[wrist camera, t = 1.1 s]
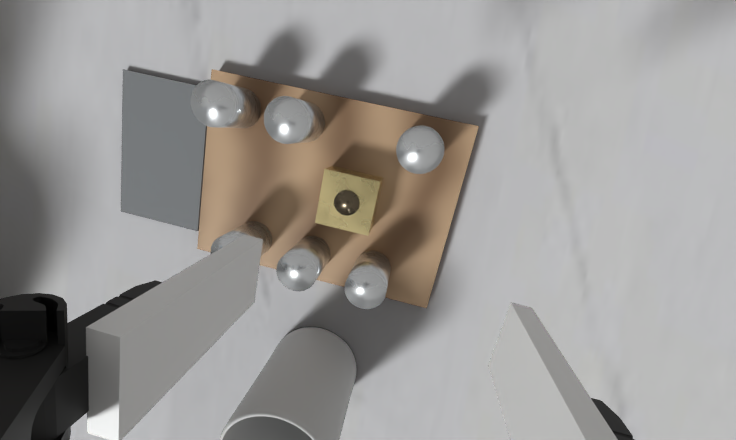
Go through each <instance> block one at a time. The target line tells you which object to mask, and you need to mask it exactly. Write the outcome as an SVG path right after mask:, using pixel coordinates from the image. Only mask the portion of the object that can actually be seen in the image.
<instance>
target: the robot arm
mask: <svg viewBox="0 0 736 440" xmlns="http://www.w3.org/2000/svg"><path fill="white" fill-rule="evenodd" d="M262 244H263V239H260V238H256V237H252V236H248V235H243V236H241V237H239V238H238V239H236V240H234V241H233V242H231V243H229V244H227V245H226V246H224V247H222V248H221V249H219V250H217V251H215V252H214V253H212V254H210V255H209V256H207V257H205V258H203V259H202V260H200V261H198V262H197V263H195V264H193V265H191V266H190V267H188V268H186V269H185V270H183V271H181V272H180V273H178V274H176V275H174V276H173V277H171V278H169V279H168V280H166V281H164V282H159V281H152V282H149V283H145V284H142V285H138V286H135V287H133V288H131V289H130V290H128V291H126V292H124V293H122V294H120V296H119V297H115V298H113V299H111V300H109V301H108V302H106V304H102V305H100V306H98V307H96V308H95V309H93V310H91V311H89V312H87V313H85V314H84V315H82V316H80V317H78V318H76V319H74V320H72V321H71V322H69V323H67V304H66V302H65V301H64V299H63V298H61V297H58V296H55V295H52V294H41V293H35V294H21V295H16V296H11V297H6V298H3V299H0V440H69V439H70V434H71V428H70V426H71V425H72V424H74V423H75V422H76V421H77V420H78V419H80V418H81V417H82V416H83V415H84V414H85V413H87V433H89V434H92V435H95V436H99V437H102V438H105V439H108V440H122V439H123V438H124V437H125V436H126V434H127V433H128V432H129V431H130V430H131V429H132V428H133V427H134V426H135V425H136V424H137V423H138V422H139V421H140V420H141V419H142V418H143V417H144V416H145V415H146V414H147V413H148V412H149V411H150V410H151V409H152V408H153V407H154V406H155V405H156V403H157V402H158V401H159V400H160V399H161V398H162V397H163V396H164V395H165V394H166V393H167V392H168V391H169V390H170V389H171V388H172V387H173V386H174V385H175V384H176V383H177V382H178V381H179V380H180V379H181V378H182V377H183V376H184V375H185V373H186V372H187V371H188V370H189V369H190V368H191V367H192V366H193V365H194V364H195V363H196V362H197V361H198V360H199V359H200V358H201V357H202V356H203V355H204V354H205V353H206V352H207V351H208V350H209V349H210V348H211V347H212V346H213V345H214V344H215V342H216V341H217V340H218V339H219V338H220V337H221V336H222V335H223V334H224V333H225V332H226V331H227V330H228V329H229V328H230V327H231V326H232V325H233V324H234V323H235V322H236V321H237V320H238V319H239V318H240V317H241V316H242V315H243V314H244V313H245V311H246V310H247V309H248V308H249V307H250V306H251V305H252V304H253V303H254V302H255V295H256V288H257V280H258V273H259V266H260V258H261V251H262ZM488 367H489V370H490V374H491V377H492V380H493V384H494V387H495V390H496V394H497V397H498V400H499V404H500V407H501V410H502V414H503V417H504V420H505V424H506V427H507V430H508V434H509V437H510V440H634V439H633V436H632V434H631V433H630V432H629V430H628V429H627V427H626V426H625V424H624V423H623V422H622V420H621V419H620V418H619V417H618V416H617V415H616V414H615V413H614V412H613V411H612V410H611V409H610V408H609V407H608V406H606V405H605V404H604V403H603V402H602V401H600V400H597V399H593V398H590V396H589V395H588V393H587V392H586V390H585V389H584V387H583V386H582V384H581V382H580V381H579V379H578V378H577V376H576V375H575V373H574V372H573V370H572V369H571V367H570V366H569V364H568V362H567V361H566V359H565V358H564V356H563V355H562V353H561V352H560V350H559V349H558V347H557V346H556V344H555V342H554V341H553V339H552V338H551V336H550V335H549V333H548V332H547V330H546V329H545V327H544V326H543V324H542V322H541V321H540V319H539V318H538V316H537V315H536V313H535V312H534V310H533V309H532V308H531V307H527V306H523V305H519V304H515V303H510V306H509V309H508V311H507V314H506V317H505V320H504V322H503V325H502V328H501V331H500V334H499V336H498V339H497V342H496V345H495V347H494V350H493V353H492V356H491V358H490V361H489V364H488Z"/></svg>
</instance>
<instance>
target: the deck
mask: <svg viewBox="0 0 736 440" xmlns="http://www.w3.org/2000/svg"><path fill="white" fill-rule="evenodd" d="M211 80H215V81H219V82H223V83H227V84H231V85H235V86H238V87H242V88H246V89H249V90H251V91H252V92H253V93H254V94H255V95H256V96H257V97H258V99H259V101H260V104H261V115H260V118H259V120H258V121H257V123H256V124H255V125H253V126H252V127H249V128H220V127H209V126H207V135H206V148H205V160H204V173H203V185H202V198H201V211H200V223H199V236H198V248H197V249H200V250H204V251H208V252H211V246H212V244H213V242H214V241H215V240H216V239H217V238H218V237H220V236H222V235H224V234H226V233H228V232H230V231H232V230H234V229H236V228H237V227H239V226H241V225H243V224H245V223H247V222H250V221H257V222H260V223H262V224H264V225H265V226H266V227H267V228H268V229H269V230H270V232H271V235H272V245H271V247H270V249H269V250H268V251H267V252H266V253H264V254H263V255H262V256H261V258H260V265H262V266H266V267H270V268H273V269H277V264H278V262H279V260H280V259H281V258H282V257H283V256H284V255H285V254H286V253H287V252H288V251H289V250H290V249H291V248H292V247H294V246H295V245H296V244H297V243H298V242H299V241H300V240H301V239H303V238H304V237H306V236H317V237H320V238H322V239H323V240H324V241H325V242H326V243H327V244H328V246H329V248H330V252H331V256H330V260H329V262H328V263H327V265H326V266H325V268H324V269H323V271H322V272H321V273H320V275H319V276H318V278H317V279H316V280H320V281H324V282H327V283H331V284H335V285H339V286H343V287H345V282H346V280H347V278H348V276H349V274H350V272H351V270H352V268H353V266H354V264H355V262H356V260H357V258H358V257H359V255H361V254H362V253H364V252H366V251H377V252H380V253H382V254H383V255H385V256H386V257H387V259H388V260H389V262H390V266H391V271H390V276H389V281H388V286H387V291H386V296H385V298H389V299H393V300H397V301H401V302H404V303H408V304H412V305H416V306H420V307H424V308H427V305H428V302H429V298H430V295H431V291H432V288H433V284H434V281H435V277H436V274H437V270H438V267H439V263H440V260H441V256H442V253H443V249H444V246H445V242H446V239H447V235H448V232H449V228H450V225H451V221H452V218H453V215H454V211H455V208H456V204H457V201H458V197H459V194H460V190H461V187H462V183H463V180H464V176H465V173H466V169H467V166H468V162H469V159H470V155H471V152H472V148H473V145H474V141H475V138H476V134H477V131H478V127H479V126H475V125H470V124H466V123H461V122H456V121H452V120H447V119H442V118H438V117H433V116H428V115H424V114H419V113H414V112H410V111H405V110H400V109H396V108H391V107H386V106H381V105H377V104H372V103H367V102H363V101H358V100H353V99H349V98H344V97H339V96H335V95H330V94H325V93H321V92H316V91H311V90H306V89H302V88H297V87H292V86H288V85H283V84H278V83H274V82H269V81H264V80H260V79H255V78H250V77H246V76H241V75H236V74H231V73H227V72H222V71H217V70H213V69H212V72H211ZM280 96H289V97H293V98H296V99H300V100H304V101H307V102H311V103H313V104H315V105H316V106H318V107H319V108H320V110H321V111H322V113H323V115H324V118H325V127H324V130H323V133H322V134H321V136H320V137H319V138H318V139H316V140H314V141H312V142H305V143H293V144H283V143H280V142H277V141H276V140H274V139H273V138H272V137H271V136H270V135H269V134H268V132H267V130H266V128H265V125H264V112H265V109H266V107H267V106H268V104H269V103H270V102H271V101H272V100H273V99H275V98H277V97H280ZM414 126H428V127H430V128H433V129H434V130H435V131H437V132H438V133H439V135H440V136H441V138H442V140H443V143H444V156H443V159H442V161H441V162H440V164H439V165H438V166H437V167H436V168H435V169H434V170H432V171H430V172H428V173H425V174H415V173H411V172H409V171H407V170H406V169H404V168H403V167H402V166H401V164H400V163H399V161H398V158H397V154H396V147H397V143H398V140H399V138H400V137H401V135H402V134H403V133H404V132H405V131H406V130H408V129H409V128H411V127H414ZM331 166H335V167H339V168H344V169H348V170H352V171H357V172H361V173H365V174H370V175H374V176H378V177H383V182H382V186H381V191H380V195H379V200H378V204H377V209H376V213H375V218H374V222H373V227H372V229H371V231H370V233H369V236H367V235H363V234H359V233H354V232H350V231H346V230H342V229H338V228H334V227H330V226H326V225H322V224H318V223H315V220H316V214H317V209H318V203H319V197H320V192H321V186H322V180H323V174H324V169H325V168H328V167H331Z"/></svg>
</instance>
